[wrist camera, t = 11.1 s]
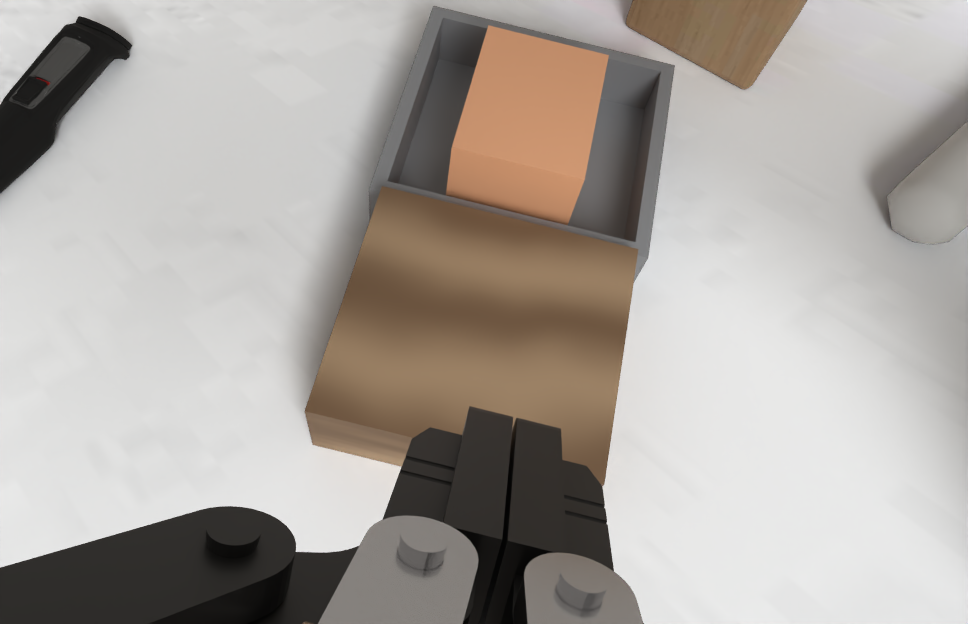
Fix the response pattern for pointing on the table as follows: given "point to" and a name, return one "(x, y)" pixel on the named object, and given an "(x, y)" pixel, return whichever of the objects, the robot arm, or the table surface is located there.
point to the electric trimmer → (52, 92)
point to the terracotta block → (527, 126)
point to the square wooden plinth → (473, 331)
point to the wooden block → (718, 32)
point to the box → (614, 150)
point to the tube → (934, 194)
